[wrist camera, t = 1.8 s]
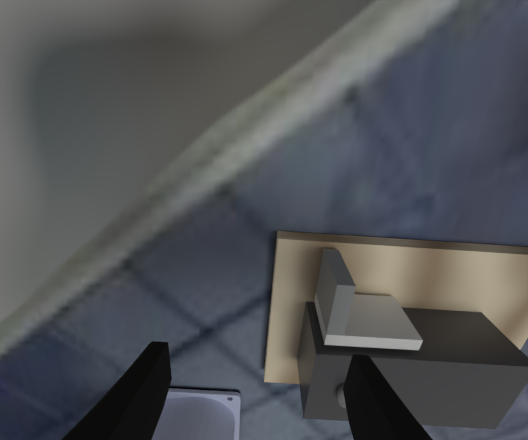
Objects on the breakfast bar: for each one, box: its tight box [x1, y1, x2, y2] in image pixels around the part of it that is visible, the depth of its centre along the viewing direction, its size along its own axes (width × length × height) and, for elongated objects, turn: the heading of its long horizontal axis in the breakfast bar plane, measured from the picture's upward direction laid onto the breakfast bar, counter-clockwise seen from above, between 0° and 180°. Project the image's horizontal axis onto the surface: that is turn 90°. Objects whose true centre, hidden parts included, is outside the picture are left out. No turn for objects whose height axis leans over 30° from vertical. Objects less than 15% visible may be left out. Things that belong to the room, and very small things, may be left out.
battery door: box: [314, 249, 423, 350], centre depth 17 cm, size 6×4×4 cm
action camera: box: [297, 301, 528, 429], centre depth 18 cm, size 14×6×5 cm, turn 86°
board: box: [264, 231, 528, 384], centre depth 21 cm, size 20×14×1 cm
